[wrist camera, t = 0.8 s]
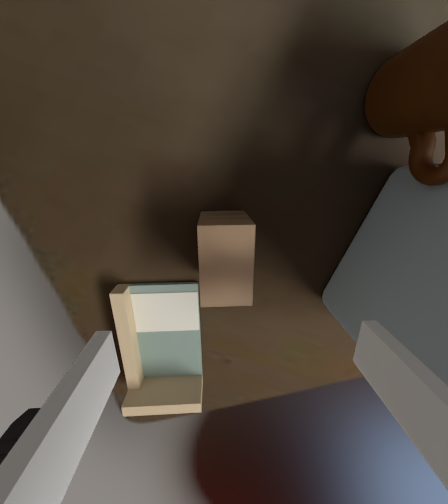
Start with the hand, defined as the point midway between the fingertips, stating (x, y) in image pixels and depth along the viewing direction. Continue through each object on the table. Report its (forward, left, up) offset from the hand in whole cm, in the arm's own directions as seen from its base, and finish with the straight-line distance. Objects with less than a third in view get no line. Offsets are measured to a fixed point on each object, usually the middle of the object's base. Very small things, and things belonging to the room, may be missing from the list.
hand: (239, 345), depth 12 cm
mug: (-13, +18, -17) cm, 28 cm away
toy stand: (+13, -8, -17) cm, 23 cm away
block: (0, 0, -17) cm, 17 cm away
